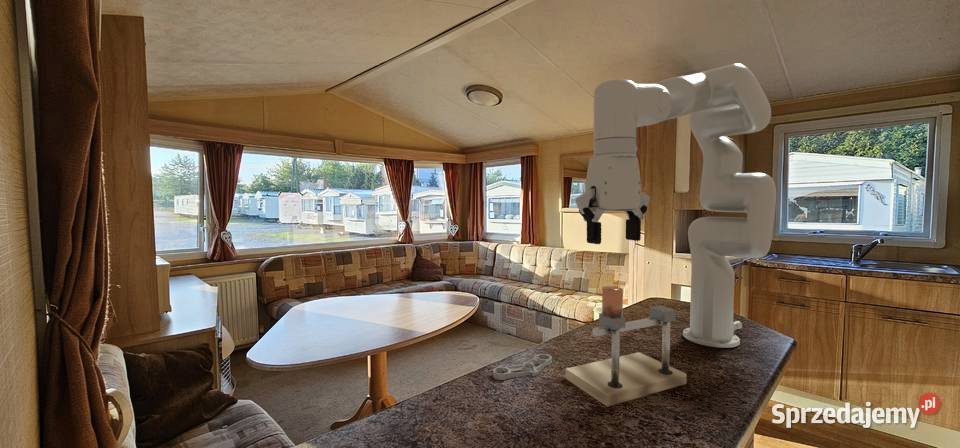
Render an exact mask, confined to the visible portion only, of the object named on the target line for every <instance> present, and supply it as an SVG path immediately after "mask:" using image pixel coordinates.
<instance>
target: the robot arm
mask: <svg viewBox="0 0 960 448" xmlns="http://www.w3.org/2000/svg"><path fill="white" fill-rule="evenodd" d="M688 115H689V119H688V123H689V128H690V130H691V133H692V135H693V136H694V139H695V140H696V142H697V144H698V146H699V149H701V152H702V157H703V159H702V160H703V162H702V172H701V181H700V188H699V203H700V206H701V207H702V208H703V209H704V210H706V211H709V212H716V213H717V212H718V213H745V214H746V215H747V216H746V217H731V216H703V217H698V218H697V219H694V220H693V221H692V222H691V223H690V225H689V226H688V229H687V237H688V244H689V251H690V258H691V259H690V260H691V262H690V263H691V264H690V265H691V275H690V278H691V279H690V304H689V305H690V306H689V307H690V311H689V313H690V314H689V327H686V328H684V329H683V331H682V336H683V338H685V339H686V340H687V341H690V342H691V343H694V344H698V345H701V346H705V347H711V348H717V349H719V348H720V349H729V348H736V347H738V346H739V345H740V344H741V338H740V337H739V336H737V335H736V334H735V331H736V330H739V329H742V328H743V323H742V322H741V321H739V320H736V321H734V308H735V307H734V306H735V302H734V300H735V282H736V281H735V280H736V276H735V275H736V274H735V271H734V268H733V266H732V265H731V263H730V261H729V260H728V259H727V257H736V258H738V257H739V258H745V259H746V258H748V259H760V258H763V257H765V256H767V254H768V253H769V252H770V249H771V246H772V245H771V244H772V240H773V230H774V223H775V222H774V221H775V213H776V206H777V205H776V204H777V188H776V183H775V181H774V179H773V177H771V176H770V175H769V174H766V173H763V172H745V173H742V168H743V158H744V157H743V156H744V155H743V153H742V151H741V150H740V148H739V147H738V145H736V143H734V142H733V140H731V139H730V138H729V137H730V136H737V135H744V134H745V135H746V134H753V133H754V134H755V133H758V132H760V131H762V130H764V129H766V128H767V126H768V125H769V123H770V121H771V118H772V107H771V104H770V102H769V99H768V98H767V96H766V93H765V92H764V90H763V88H762V87H761V84H760V83H759V81H758V79H757V78H756V76H755V75H754V73H753V72H752V71H751V70H750V69H749V68H748V66H745V65H744V64H742V63H733V64H728V65H724V66H720V67H716V68H712V69H709V70H704V71H700V72H695V73H692V74H687V75H680V76H679V75H678V76H674V77H670V78H667V79H663V80H660V81H657V82H653V83H637V82H636V83H635V82H634V81H632V80H630V79H626V78H625V79H624V78H622V79H621V78H620V79H617V78H616V79H610V80H606V81H603V82H601V83H599V84H598V85H596V87H595V88H594V91H593V157H591V158H590V159H589V162H588V166H587V172H586V180H585V181H586V182H585V188H584V189H585V191H584V192H583V193H582V194H579V196H577V197H575V200H574V201H575V204H576V207H577V209H578V213H579V214H580V215H581V216H582V218H583V221H584V222H585V223H586V243H587V244H592V245H593V244H594V245H601V243H602V222H600V221H599V220H600V219H601V217H602V215H604V213H605V212H622V211H623V212H624V213H625V215H626V216H627V219H625V239H626V240H629V241H636V242H640V241H641V237H642V235H641V234H642V233H641V231H642V230H641V229H642V228H641V227H642V226H641V225H642V223H641V222H642V220H643V219H644V215H645V214H646V212H647V210H648V206H649V203H650V200H651V197H650V195H648V194H647V193H645V192H644V191H643V190H642V182H641V172H640V164H639V160H638V157H637V151H638V150H639V147H638V146H637V128H640V127H646V126H652V125H656V124H658V123H661V122H663V121H667V120H671V119H673V120H674V119H677V118H681V117H684V116H688ZM728 136H729V137H728Z"/></svg>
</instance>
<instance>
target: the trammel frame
mask: <svg viewBox="0 0 960 448" xmlns="http://www.w3.org/2000/svg"><path fill="white" fill-rule="evenodd" d="M676 313H677V311H676V309H674V308H670V307H666V306H664V305H656V306H650V307H649V317H646V318H641V319H635V320H630V321H626V322H625V328H620V333H622V332H627V331H632V330H637V329H638V330H639V329H643V328H649V327H652V326H653V327H654V326H660V325H662V326H661V327H662V328H661V329H662V330H661V332H662V335H661V337H662V338H661V363H662V368H661V371H662V372H664V373H669V366H670V362H671V361H670V360H671V358H670V353H671V322H672V321H676ZM592 335H593V336H595V337H601V336H607V335H612V329H610V328H607V327H605V326H603V325H601V326H597V327H592Z"/></svg>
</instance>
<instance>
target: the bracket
mask: <svg viewBox="0 0 960 448" xmlns="http://www.w3.org/2000/svg"><path fill="white" fill-rule="evenodd" d="M552 357H553V356H551V355H550V354H547V353H540V354H539V353H538V354H534V355H533V356H532V358H531V359H528V360H527V361H526V362H524V363H521V364H517V365H510V366H509V365H507V366H504V365H499V366H497V367H494V368H493V370H492V378H494V379H495V380H499V381H505V380H509V379H512V378H519V377H520V378H521V377H524V376H525V377H526V376H532V377H536V376H538V375H540V374H539V373H540V371H541V370H543V369H544V368H545V367H548V366H550V365H552V362H553V361H552V360H553V358H552ZM535 365H536V366H535ZM537 365H538V366H537Z"/></svg>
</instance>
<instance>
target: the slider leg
mask: <svg viewBox="0 0 960 448" xmlns="http://www.w3.org/2000/svg"><path fill="white" fill-rule="evenodd" d="M601 292H602V293H601V312H600V313H598V324H599V325H601V326H605V327H607V328H610V329H612V334H611V357H610V359H611V383H612V384H614V385H618V384H619V358H620V352H621V351H620V350H621V347H620V346H621V344H620V342H621V332H620V328H625V322H627V320H626V316H625V315H623V312H624V311H623V309H624V308H623V307H624V305H623V303H624V300H623V297H624V288H622V287H620V286H612V285H609V286H607V285H606V286H602V288H601Z"/></svg>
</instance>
